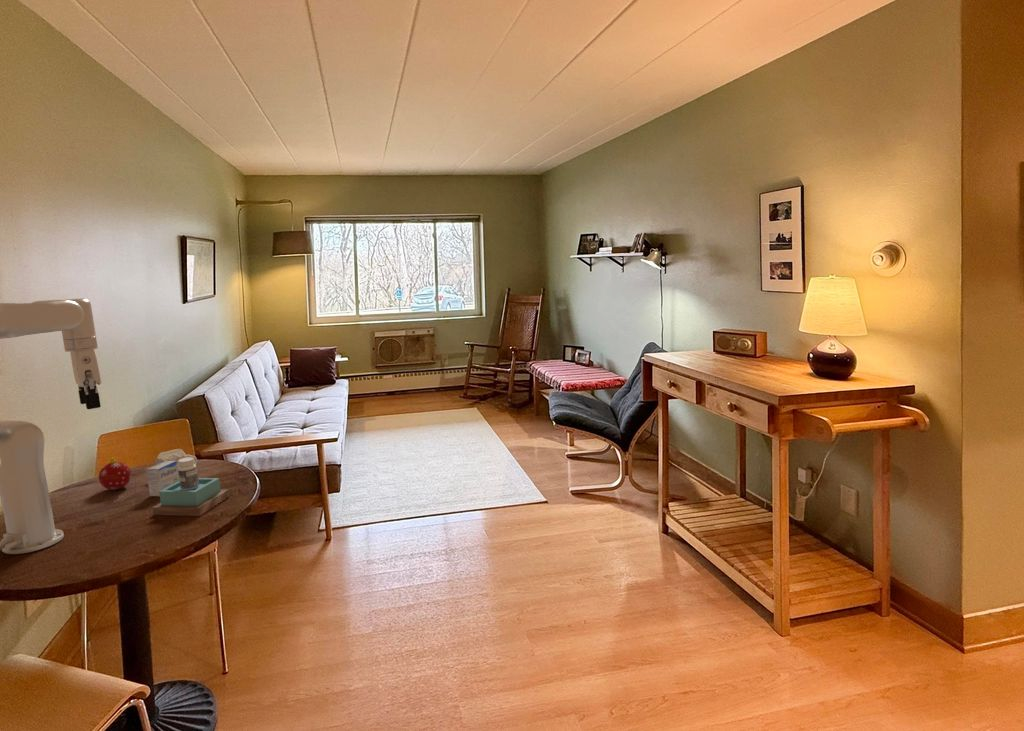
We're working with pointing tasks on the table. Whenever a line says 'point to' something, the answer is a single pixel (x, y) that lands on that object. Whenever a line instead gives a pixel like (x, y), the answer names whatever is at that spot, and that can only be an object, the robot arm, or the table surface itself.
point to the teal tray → (190, 493)
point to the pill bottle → (187, 474)
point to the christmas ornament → (114, 475)
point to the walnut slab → (191, 510)
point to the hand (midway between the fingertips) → (90, 405)
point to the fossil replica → (173, 456)
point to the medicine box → (162, 476)
